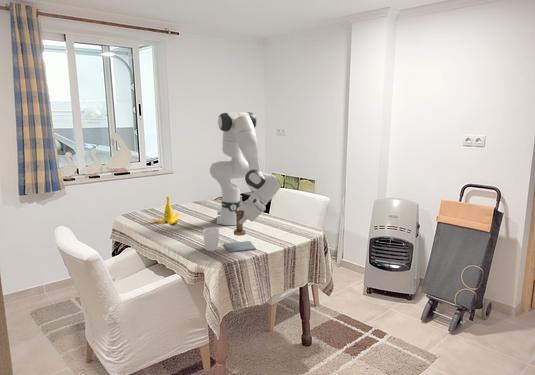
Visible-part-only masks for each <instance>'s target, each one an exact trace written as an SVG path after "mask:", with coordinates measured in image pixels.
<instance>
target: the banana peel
mask: <svg viewBox="0 0 535 375" xmlns="http://www.w3.org/2000/svg"><path fill="white" fill-rule="evenodd" d="M163 216H164V217H163V219H162V220H161V219H156V218H154V217H151V220H153V221H154V222H156V223H158V224H165V223H167V225H174V224H178V222H179V220H178V218H179V212H177V213H176V214H175V215H174V212H173V208H172V205H171V203H170V196H168V195H167V196H166V205H165V208H164V214H163Z"/></svg>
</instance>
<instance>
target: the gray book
mask: <svg viewBox="0 0 535 375" xmlns="http://www.w3.org/2000/svg"><path fill="white" fill-rule="evenodd" d="M223 246H224V248H225V249H226V251H227V252H228V253H238V252H246V251H248V252H249V251H256V250H257V248H256V247H255V245H254V244H253V243H252V242H251V241H250V240H245V241H237V242H236V241H234V242H226V243H223Z"/></svg>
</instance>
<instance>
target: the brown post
mask: <svg viewBox="0 0 535 375" xmlns="http://www.w3.org/2000/svg"><path fill="white" fill-rule="evenodd" d="M235 213H236V225H235V226H236V228H235V230H233V235H235V236H237V237H239V236H245V235H246V230H245V229H244V224H243V223H244V222H243V223H242V224H240V223H239V222H238V221H239V220H240V219H242V218H243V213H244V211H243V210H236V211H235Z"/></svg>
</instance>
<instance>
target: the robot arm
mask: <svg viewBox="0 0 535 375" xmlns="http://www.w3.org/2000/svg"><path fill="white" fill-rule="evenodd" d="M217 123H218V124H217V125H218V128H219V130H220V131H222V148H221V149H222V152H223V154H224V155H226V156H228V157H230V158H231V160H224V161H222V160H221V161H216V162H213V163H211V165H210V167H209V173H210V176H211V177H212V178H213V180H216V181H217V183H218V184H219V186H220V188H221V197H222V200H221V207H220V209H219V210H218V211H217V216H216V225H223V226H236V213H235V211H236V210H243V211H244V213H243V218H242V219H240V220H239V221H238V222H239V223H240V224H242V223H246V222H247V220H249V221H250V222H254V221H255V220H256V219H257V218H259V216H260V215H261V214H262V212H265V211H266V205H268V203H269V201H270V199H272V198H273V197H275V195H276V194H277V193H278V191H279V190H280V189H281V187H282V186H281V181H280V180H279V178H278V177H277V176H275V174H273V173H271V174H270V173H265V172H263V171H262V166H261V163H260V160H259V152H258V151H259V150H258V139H257V133H256V127H257V117H256V115H255V114H254V113H253V112H249V111H247V112H245V111H235V112H232V111H231V112H222V113H220V114H219V115H218V119H217ZM232 179H244V180H245V183H246V185H247V186H248V188H249V189H250V191H251V192H252V194H250V196H249V197H248V199H246V200H244V202H242V200H241V189H240V187H239V186H238V185H236V184H235V183H232V182H231V180H232Z"/></svg>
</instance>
